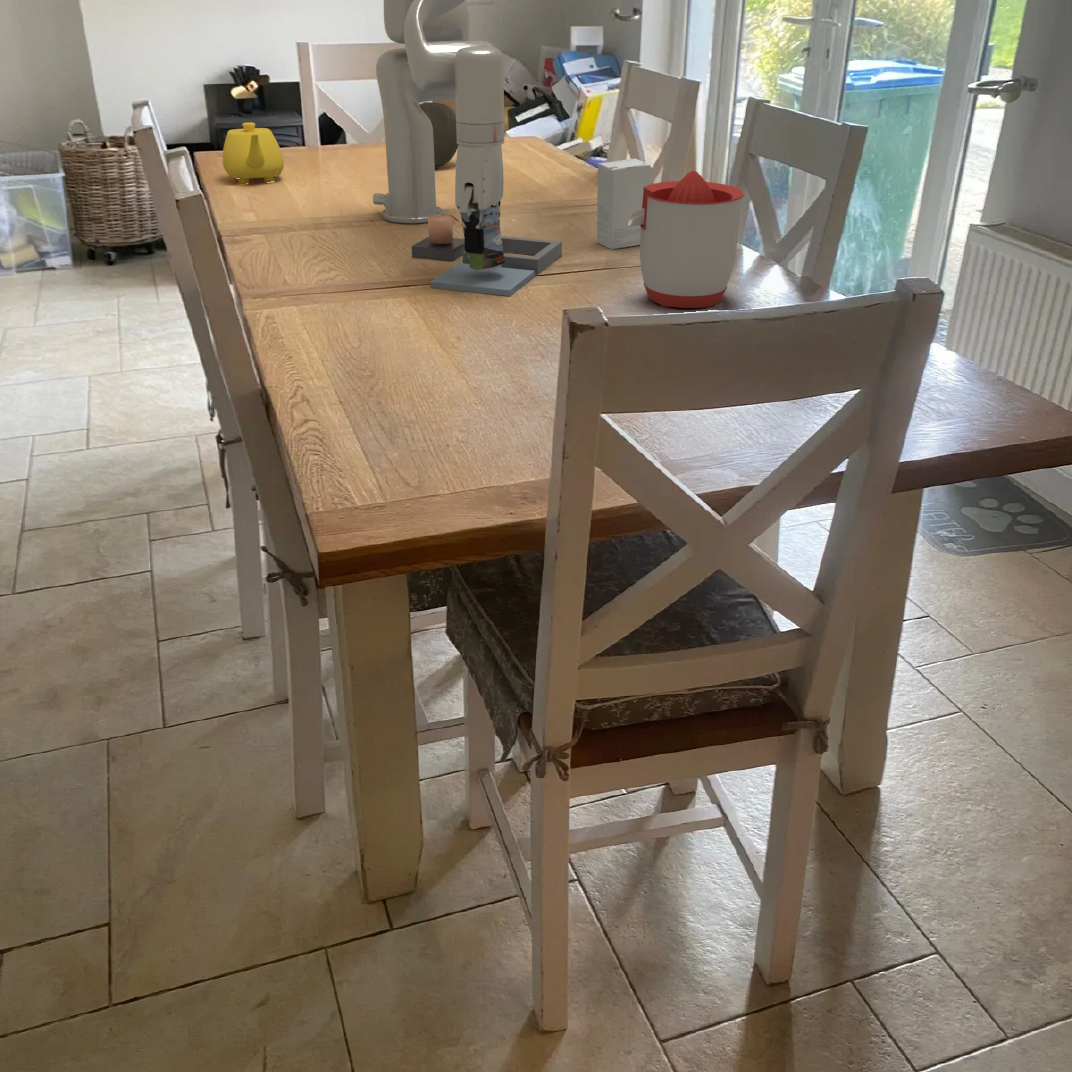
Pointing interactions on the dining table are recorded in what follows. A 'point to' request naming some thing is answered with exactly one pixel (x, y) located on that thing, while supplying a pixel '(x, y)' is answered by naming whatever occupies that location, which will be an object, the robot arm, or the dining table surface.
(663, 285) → the citrus juicer
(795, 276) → the dining table surface
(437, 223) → the button
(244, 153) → the teapot
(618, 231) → the skincare box
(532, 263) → the frame
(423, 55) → the robot arm
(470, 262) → the beverage can
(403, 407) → the dining table surface
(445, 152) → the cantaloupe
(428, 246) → the button base
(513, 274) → the mat
